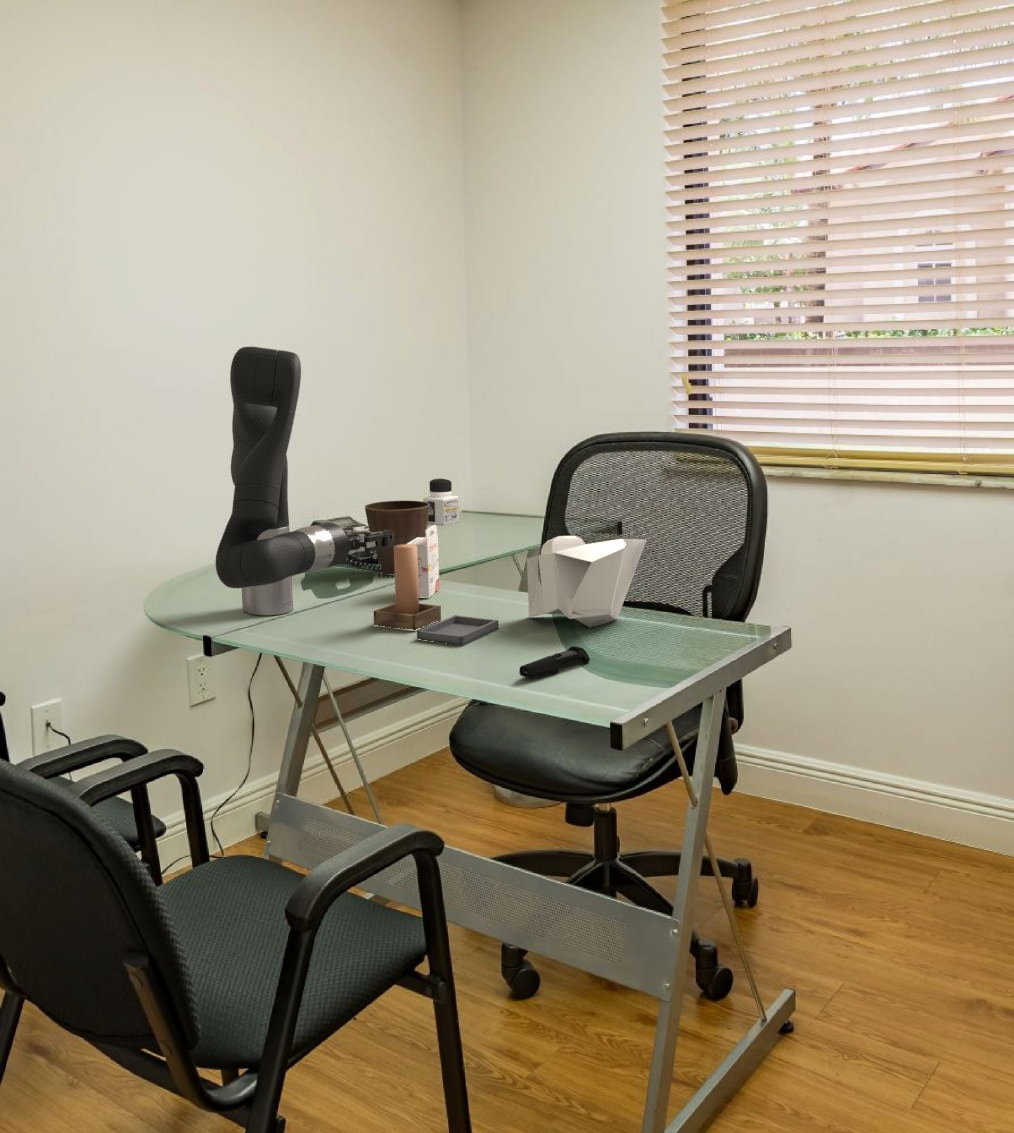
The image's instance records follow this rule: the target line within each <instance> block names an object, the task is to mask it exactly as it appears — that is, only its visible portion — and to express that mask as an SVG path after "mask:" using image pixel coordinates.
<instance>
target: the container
mask: <svg viewBox="0 0 1014 1133" xmlns="http://www.w3.org/2000/svg"><path fill="white" fill-rule="evenodd" d="M452 488H453V487H452V480H451V479H449V478H433V479H431V480H429V495H430V496H426V497H423V499H422V500H423V501H422V502H427V503H429V504H430V507H429V517H428V525H435V524H436V526H437V525H439V526H446V525H450V524H454V523H458V522H459V523H460V508H459V507H460V502H459V500H460V499H459V496H457V495H452V493H453V490H452Z"/></svg>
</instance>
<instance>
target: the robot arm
mask: <svg viewBox="0 0 1014 1133" xmlns="http://www.w3.org/2000/svg"><path fill="white" fill-rule="evenodd" d="M301 366H302V364H301V360H300V356H299V355H298V354H297V353H295V352H292V351H288V350H281V349H278V350H277V349H275V348H274V349H273V348H265V347H258V346H243V347H240V348H239V349H238V350H237V351H236V352H235V353H234V356H233V358H232V360H231V365H230V371H229V373H230V375H229V376H230V377H229V381H230V382H229V383H230V392H231V397H232V403H233V410H232V419H231V420H232V425H231V426H232V427H231V428H232V429H231V430H232V432H231V433H232V442H233V444H232V445H233V448H232V452H231V459H230V476H231V481H232V483H233V485H234V490H233V497H232V498H233V500H232V509H231V510H232V512H231V513H230V517H229V519H228V521H227V523H226V526H225V529H224V531H223V533H222V537H221V539H220V541H219V543H218V544H219V545H218V547H217V551H216V555H215V570H216V574H217V577H218V579H219V581H220V582H221V583H222V584H223V585H224V586H226V587H227V588H230V589H241V601H242V605H241V607H242V611H243V612H247V613H248V614H249V615H252V616H253V615H256V616H275V615H283V614H286V613H290V612H292V611H293V610H294V596H293V594H294V592H293V577H294V576H296V575H300V574H304V573H306V574H307V573H314V572H317V571H322V570H325V569H328V568H331V567H336V566H339V565H341V564H343V562H344V561H345V560H346V559H347V556H348V555H351V554H354V553H357V552H365V553H371V552H376V551H377V550H381V549H386V548H389V543H391V542H392V541H393V532H392V530H385V531H381V532H373V533H370V531H369V530H363V529H362V530H354V528H353V527H352V526H351V527H349V526H348V527H343V528H342V527H341V526H340V525H338V524H336V523H333V522H331V521H329V522H322V523H318V524H313V525H310V526H309V525H308V526H304V527H300V528H298V529H296V530H295V529H294V530H293V531H290V518H289V517H290V516H289V503H288V501H289V499H288V494H289V493H288V490H289V489H288V485H289V484H288V483H289V482H288V481H289V479H288V478H289V474H288V473H289V472H288V470H289V469H288V467H289V466H288V463H289V462H288V455H287V452H288V449H289V444H290V440H291V435H292V430H293V425H294V420H295V416H296V410H297V406H298V401H299V396H300V389H301V388H300V387H301V380H302V379H301V378H302V367H301ZM360 535H363V540H361V536H360Z"/></svg>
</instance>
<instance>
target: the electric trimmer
mask: <svg viewBox="0 0 1014 1133" xmlns="http://www.w3.org/2000/svg"><path fill="white" fill-rule="evenodd" d="M590 661H591V659H590V657H589V654H588V652H587V650H585V649H584V648H583V647H580V646H570V647H569V648H568V649H566V650H564V651H561V652H558V653H554V654H551V655H548V656H545V657H542V658H540V659H537V660H534V661H532V662H528V663H526V664H523V665H521V666H519V675H520V676H521V677H523V678H524V677H525V678H528V679H534V678H540V677H544V676H545V677H546V676H549V675H555V674H558V673H559V671H560V670H563V669H567V668H569V667H573V666H576V665H578V664H585V665H588V664H589V662H590Z"/></svg>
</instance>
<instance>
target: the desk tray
mask: <svg viewBox="0 0 1014 1133" xmlns="http://www.w3.org/2000/svg"><path fill="white" fill-rule="evenodd" d="M497 630H499V620H498V619H491V618H481V617H472V616H464V615H456V614H455V615H452V616H449V617H447V618H445V619H441V621H440V622H437V623H435V624H432V625H430V626H428V627H425V628H423V629H420V630H418V631H416V639H421V640H427V641H434V642H439V643H438V644H442V643H447V644H446V645H449V644H451V646H457V645H459V646H458V647H463V645H464V646H465V645H468V644H469V643H472V642H474V641H476V640H479V639H481V638H482V637H485V636H487V635H489V634H491V633H494V632H496V631H497ZM427 641H426V642H427ZM434 642H433V643H434ZM467 643H468V644H467Z"/></svg>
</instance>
